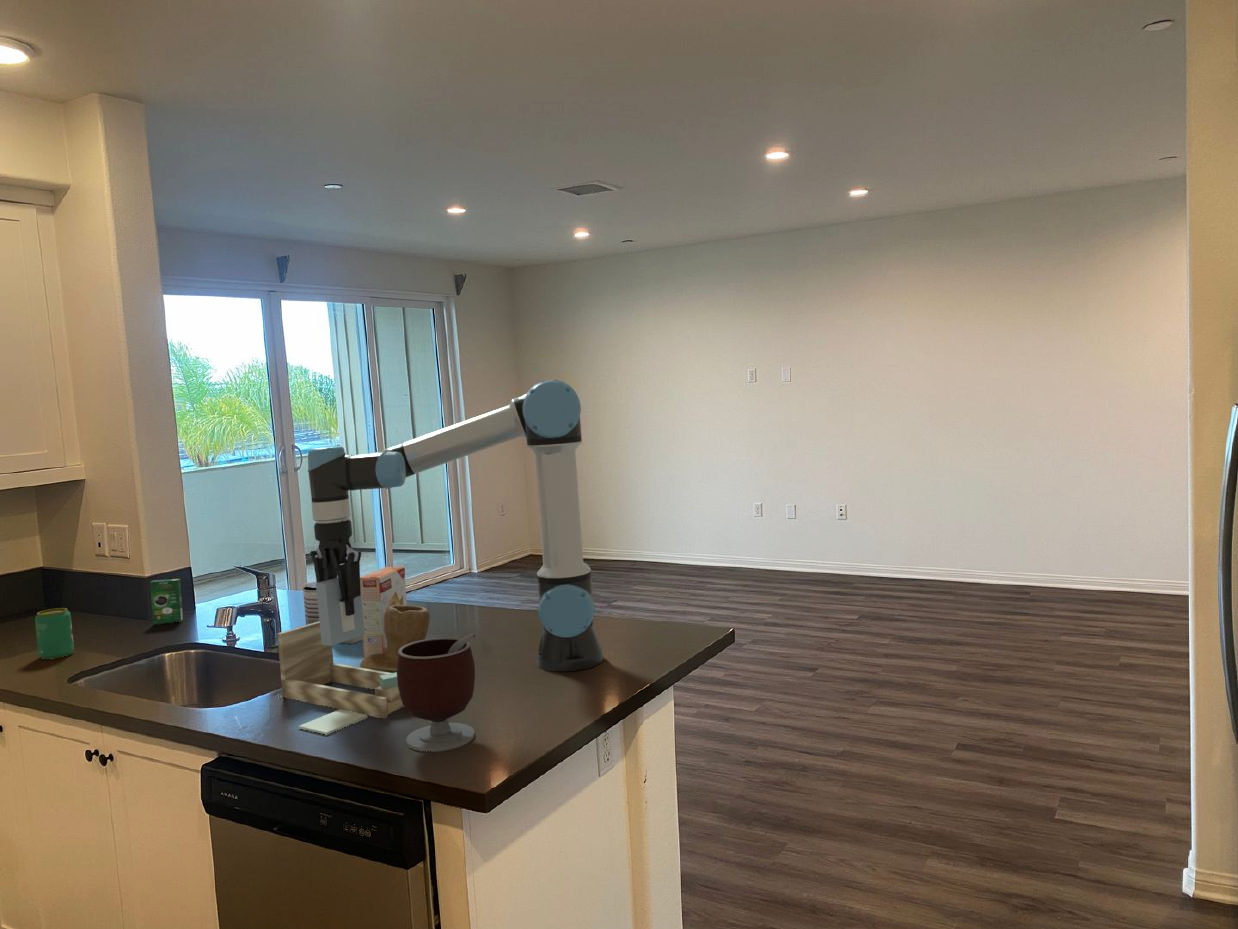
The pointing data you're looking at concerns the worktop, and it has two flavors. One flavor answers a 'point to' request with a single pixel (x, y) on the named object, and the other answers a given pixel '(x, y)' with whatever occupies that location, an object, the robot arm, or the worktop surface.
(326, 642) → the tall white upright block
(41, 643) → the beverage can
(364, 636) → the cracker box
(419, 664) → the mate gourd
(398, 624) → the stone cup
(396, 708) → the offcut oak
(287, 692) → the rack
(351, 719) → the pad
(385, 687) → the offcut teal
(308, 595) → the can
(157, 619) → the coffee box
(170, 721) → the worktop surface
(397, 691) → the offcut pine
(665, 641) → the worktop surface
